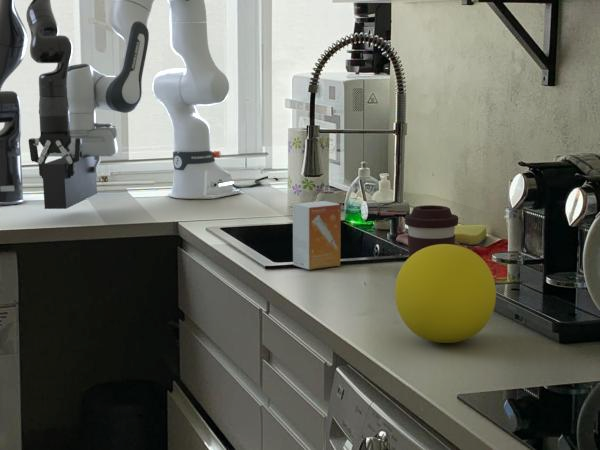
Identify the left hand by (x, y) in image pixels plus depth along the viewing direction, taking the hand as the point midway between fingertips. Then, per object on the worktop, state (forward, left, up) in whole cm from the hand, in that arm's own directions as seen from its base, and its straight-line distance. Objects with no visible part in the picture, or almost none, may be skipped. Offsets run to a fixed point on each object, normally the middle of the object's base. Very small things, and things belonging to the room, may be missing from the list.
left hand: (57, 177), depth 272 cm
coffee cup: (+116, +19, -12) cm, 118 cm away
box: (-7, +8, -8) cm, 13 cm away
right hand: (-15, +15, -1) cm, 21 cm away
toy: (+143, -7, -12) cm, 144 cm away
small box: (+87, +15, -12) cm, 89 cm away
